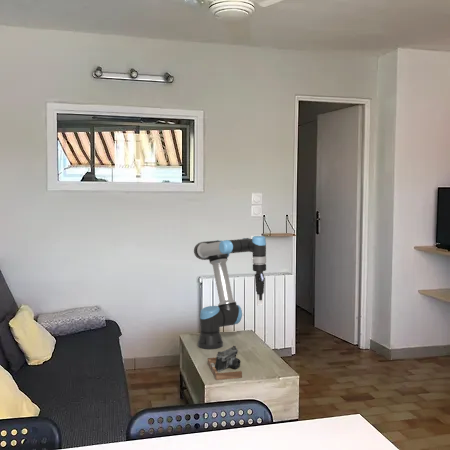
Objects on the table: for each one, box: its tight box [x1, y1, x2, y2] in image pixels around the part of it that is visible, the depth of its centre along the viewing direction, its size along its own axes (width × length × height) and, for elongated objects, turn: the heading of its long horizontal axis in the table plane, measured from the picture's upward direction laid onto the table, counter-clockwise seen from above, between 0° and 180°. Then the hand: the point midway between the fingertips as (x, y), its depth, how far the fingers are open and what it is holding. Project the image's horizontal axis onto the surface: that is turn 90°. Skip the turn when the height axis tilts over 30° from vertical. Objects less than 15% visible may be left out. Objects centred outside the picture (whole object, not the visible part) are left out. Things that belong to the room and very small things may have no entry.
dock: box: [207, 357, 243, 381], centre depth 273 cm, size 25×13×4 cm, turn 12°
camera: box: [214, 345, 241, 373], centre depth 276 cm, size 18×9×10 cm, turn 147°
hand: (260, 305), depth 293 cm, fingers closed
